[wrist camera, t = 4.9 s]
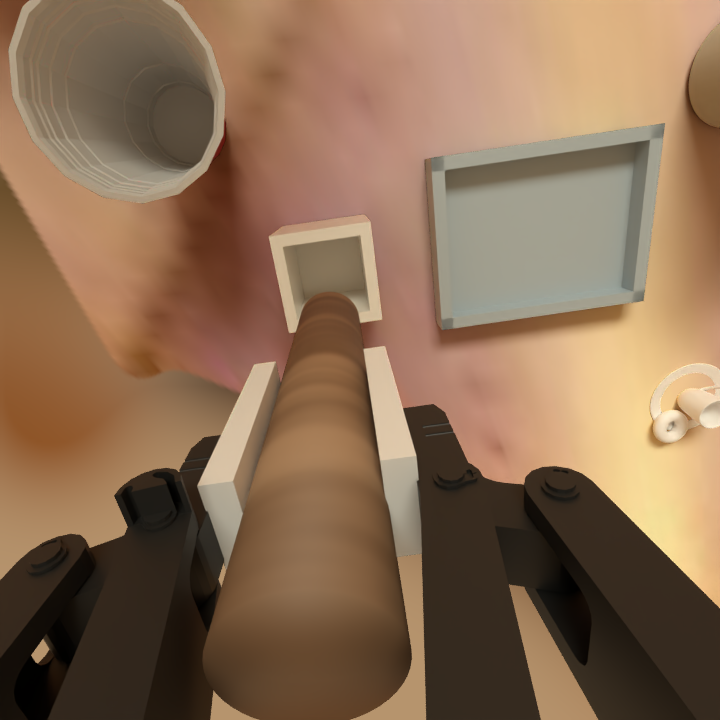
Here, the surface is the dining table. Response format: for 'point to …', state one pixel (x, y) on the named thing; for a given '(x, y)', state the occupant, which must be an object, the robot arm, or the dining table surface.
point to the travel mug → (707, 80)
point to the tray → (542, 226)
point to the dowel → (314, 546)
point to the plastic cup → (119, 94)
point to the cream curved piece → (686, 405)
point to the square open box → (326, 265)
